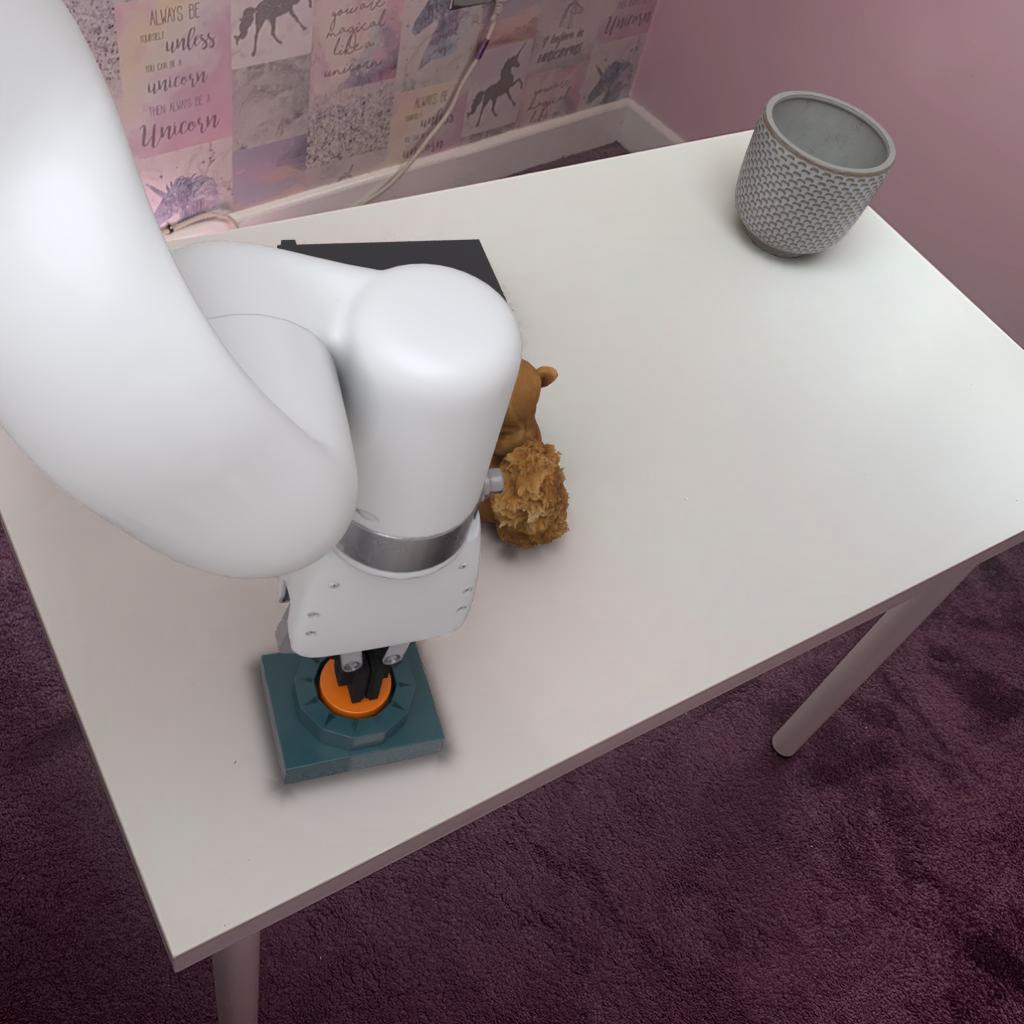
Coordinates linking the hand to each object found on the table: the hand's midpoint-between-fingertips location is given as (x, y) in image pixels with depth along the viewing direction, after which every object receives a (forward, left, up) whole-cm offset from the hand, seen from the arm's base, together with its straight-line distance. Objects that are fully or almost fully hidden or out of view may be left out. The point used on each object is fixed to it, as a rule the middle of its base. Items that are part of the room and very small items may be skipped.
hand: (358, 680), depth 65 cm
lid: (+12, +36, -1) cm, 38 cm away
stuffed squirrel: (+15, +15, -4) cm, 22 cm away
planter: (+57, +45, -4) cm, 73 cm away
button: (0, 0, -2) cm, 2 cm away
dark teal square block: (0, 0, -4) cm, 4 cm away
